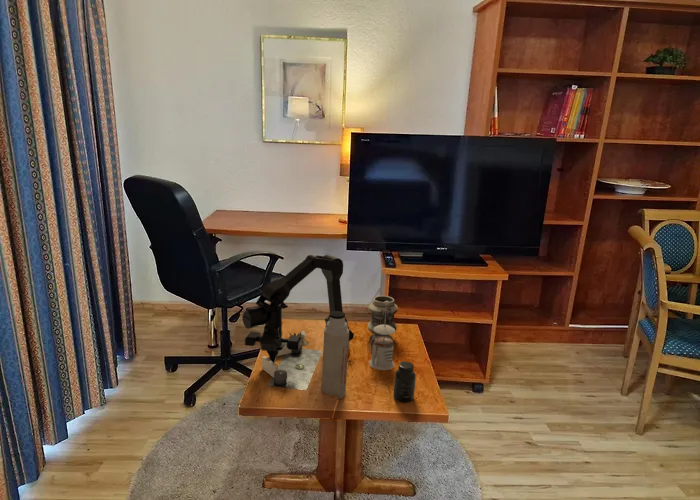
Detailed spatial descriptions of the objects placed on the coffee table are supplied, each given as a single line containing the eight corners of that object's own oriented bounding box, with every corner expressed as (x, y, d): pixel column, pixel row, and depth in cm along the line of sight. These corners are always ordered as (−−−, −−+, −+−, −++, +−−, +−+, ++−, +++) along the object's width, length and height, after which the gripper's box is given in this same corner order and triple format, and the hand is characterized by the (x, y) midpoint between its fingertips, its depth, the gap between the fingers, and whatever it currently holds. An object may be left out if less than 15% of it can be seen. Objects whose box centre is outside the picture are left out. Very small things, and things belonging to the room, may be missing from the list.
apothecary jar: (376, 330, 209) (379, 291, 205) (400, 339, 202) (404, 298, 198) (361, 339, 200) (363, 298, 195) (385, 348, 193) (389, 306, 188)
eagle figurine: (284, 342, 191) (293, 347, 183) (292, 325, 192) (302, 330, 185) (299, 349, 195) (309, 354, 187) (307, 333, 196) (317, 337, 188)
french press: (400, 364, 181) (405, 301, 174) (380, 374, 172) (385, 309, 166) (379, 355, 187) (384, 294, 181) (360, 364, 179) (364, 301, 172)
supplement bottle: (391, 391, 162) (394, 359, 159) (411, 392, 162) (414, 359, 159) (394, 403, 155) (398, 369, 152) (415, 403, 156) (419, 369, 153)
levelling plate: (322, 354, 185) (322, 349, 184) (306, 394, 157) (306, 388, 157) (289, 350, 186) (289, 345, 186) (267, 389, 158) (267, 384, 158)
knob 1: (289, 382, 160) (289, 370, 159) (278, 386, 158) (278, 374, 156) (269, 366, 170) (269, 354, 169) (258, 369, 167) (258, 358, 166)
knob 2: (298, 347, 186) (299, 336, 185) (304, 352, 182) (304, 341, 181) (267, 354, 178) (267, 343, 177) (272, 359, 175) (272, 348, 174)
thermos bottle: (350, 391, 160) (354, 312, 153) (336, 402, 154) (341, 320, 147) (330, 383, 164) (334, 306, 157) (316, 393, 158) (319, 313, 151)
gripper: (238, 328, 157) (239, 371, 161) (294, 333, 155) (294, 377, 159) (249, 315, 168) (250, 356, 172) (302, 320, 166) (301, 361, 170)
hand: (273, 363), depth 168 cm, fingers closed
